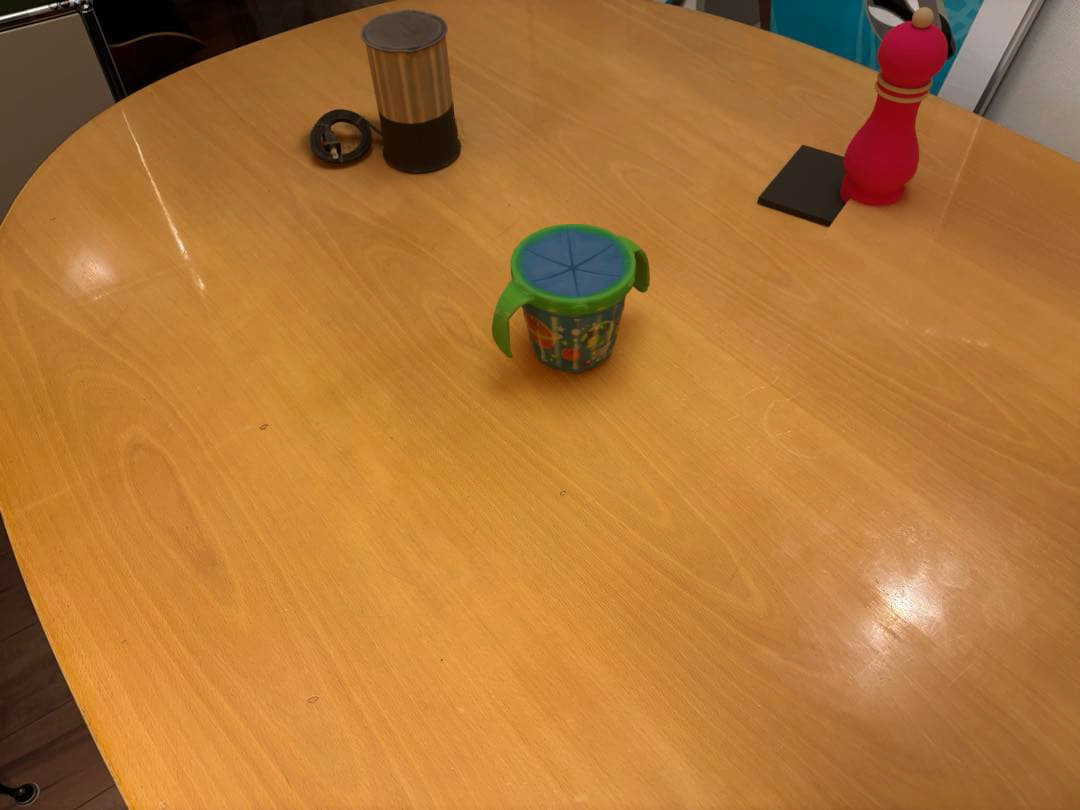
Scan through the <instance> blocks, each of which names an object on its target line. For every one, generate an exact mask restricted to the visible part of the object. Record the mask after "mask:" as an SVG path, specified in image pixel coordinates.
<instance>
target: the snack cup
mask: <svg viewBox="0 0 1080 810" xmlns="http://www.w3.org/2000/svg"><path fill="white" fill-rule="evenodd" d="M510 276H511V279H510V281H509V283H508V284H507V285H506V286H505V288H504V290H503V291H502V292H501V295H500V296H499V298H498V299H497V303H496V306H495V309H494V312H493V317H492V324H491V335H492V338H493V340H494V341H493V342H495V344H496V345H497V347H498V349H499V350H500V351H501V353H503V354H504V355H505V357H506V358H508V359H513V357H514V356H513V353H512V351H511V337H510V334H511V333H510V320H511V318H512V317H513V316H514V314H515V313H516V312H517V311H518V310H519V309H520V308H522V312H523V313H522V314H523V317H524V321H525V325H526V328H527V332H528V336H529V342H530V344H531V347H532V349H533V352H534V354H535V356H536V358H537V360H538V362H540V363H541V364H543V365H546V366H548V367H550V368H552V369H554V370H557V371H561V372H564V373H567V372H569V373H572V374H575V375H577V374H581V373H582V374H583V373H584V372H585V371H588V370H593V369H595V368H597V367H598V366H600V365H601V364H603V363H604V362H605V361H606V360H607V359H609V358H610V357H611V356H612V354H613V349H614V347H615V345H616V342H617V339H618V338H617V337H618V333H619V330H620V327H621V322H622V319H623V314H624V310H625V306H626V305H625V304H626V303H625V302H626V297H627V295H628V294H629V293H630V292H631V291H632V289H633V288H634V289H635V290H637V292H640V293H642V294H643V293H647V292H648V290H649V287H650V284H651V283H650V282H651V269H650V263H649V258H648V256H647V253H646V251H644V250H643V248H642V247H641V246H639V245H638V243H636V242H634V241H633V240H632V239H629V237H626V236H624V235H622V234H621V235H620V234H617V233H614V232H612V231H610V230H609V229H607V228H604V227H600V226H597V225H591V224H585V223H562V224H561V223H560V224H555V225H550V226H546V227H544V228H541V229H537V230H536V231H534V232H532V233H530V234H529V235H527V236H526V237H524V239H522V240H520V242H518V244H517V245H516V246H515V248H514V249H513V252H512V255H511V257H510Z"/></svg>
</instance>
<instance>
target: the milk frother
mask: <svg viewBox="0 0 1080 810" xmlns="http://www.w3.org/2000/svg"><path fill="white" fill-rule="evenodd" d="M448 29H449V28H448V24H447V22H446V20H445V19H443V17H442V16H439V15H438V14H436V13H433V12H430V11H427V10H422V9H421V10H419V9H409V8H408V9H403V10H394V11H390V12H386V13H383V14H380V15H377V16H375V17H373V18H372V19H370V20H369V21H367V22H366V23H365V24H364V25H363V26H362V27H361V30H360V38H361V40H362V42H364V43H365V48H366V49H365V50H366V54H367V59H368V60H367V61H368V64H369V65H368V66H369V71H370V75H371V81H372V87H373V90H374V95H375V102H376V106H377V111H378V118H379V122H380V129H379V128H378V127H376V125H374V124H372V123H371V121H369V120H368V119H366V118H365V117H364V116H362V115H361V114H359V113H358V112H355V111H353V110H349V109H343V108H337V109H332V110H329V111H328V112H325V113H324V114H323V115H322V116H320V118H318V120H316V122H315V123H314V125H313V126H312V129H311V131H310V134H309V145H310V149H311V151H312V153H313V155H314V156H315V157H316V158H317V159H318V160H320V161H321V162H323V163H325V164H330V165H334V166H335V165H338V166H339V165H348V164H353V163H355V162H358V161H359V160H362V158H364V156H365V155H366V154H367V153H368V152H369V150H370V148H371V145H372V140H373V137H372V136H373V135H372V130H373V131H374V132H376V133H377V134H378V135H379V136H380V137H382V144H383V145H382V146H383V148H382V156H383V158H384V161H385V162H386V163H387V164H388V165H389V166H391V167H392V168H394V169H397V170H399V171H401V172H407V173H428V172H432V171H437V170H439V169H443V168H445V167H447V166H449V165H450V164H451V163H453V162H454V161H455V160H456V159H457V158H458V157H459V155H460V153H461V152H462V151H461V150H462V144H461V140H460V139H459V133H458V125H457V122H456V115H455V106H454V98H453V87H452V85H453V84H452V77H451V69H450V60H449V52H448V51H449V50H448V42H447V34H448V32H449V31H448ZM338 123H347V124H349V125H352V126H353V127H355V128H356V129H358V131H359V132H360V135H361V140H360V141H359V143H358V145H357V146H356V147H355V148H354V149H352V150H351V151H349V152H345V153H342V143H341V141H340V140H338V139H337V138H336V136H335V131H333V130H332V126H335V124H338ZM371 129H372V130H371ZM322 141H323V143H324V144H323V145H322Z"/></svg>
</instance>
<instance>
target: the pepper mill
mask: <svg viewBox="0 0 1080 810" xmlns="http://www.w3.org/2000/svg"><path fill="white" fill-rule="evenodd" d="M934 18H935V16H934V11H933V10H932V9H931V8H929V7H928V6H922V7H920V8H918V9H916V10H915V11H914V13H913V14H912V17H911V20H909V21H905V22H901V23H899V24H897V25H895V26H894V27H892V28H891V29H890V30H888V32H887V33H886V34H885V36H884V37H883V39H882V40H881V42H880V44H879V47H878V50H877V62H878V65H879V68H880V69H881V70H880V71H878V72H877V75H876V81H875V83H874V89H875V91H876V93H877V96H876V101H875V104H874V107H873V109H872V111H871V113H870V115H869V117H868V118H867V119H866V121H865V122H864V124H863V125H862V126H861V127H860V128H859V129H858V131H857V132H856V133H855V134H854V136H853V137H852V139H851V140H850V142H849V144H848V145H847V148H846V150H845V153H844V156H843V157H844V168H845V171H846V172H847V174H846V175H845V176H844V178H843V182H842V186H841V190H840V196H841V198H842V200H843V202H844V203H845V204H847V203H848V202H849V200H850V199H851V200H853V201H855V202H856V203H859V204H863V205H865V206H872V207H886V206H887V207H888V206H890V205H894V204H896V203H898V202H900V200H901V199H902V198H903V196H904V194H905V192H906V184H908V183H909V182H910V181H911V180H912V179H913V177H915V175H916V173H917V171H918V166H919V162H920V145H919V140H918V137H917V130H916V122H917V118H918V117H917V116H918V112H919V109H920V106H921V105H922V101H923V100H925V99H927V97H929V95H930V93H931V90H930V89H931V87H932V86H933V83H934V81H933V78H934V77H935V76H936V75H938V73H940V72H941V71H942V69H943V67H944V66H945V64H946V61H947V58H948V54H949V44H948V39H947V37H946V35H945V34H944V32H943V31H942V29H940V27H938V26H936V25H935V24H933V21H934Z"/></svg>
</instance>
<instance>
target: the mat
mask: <svg viewBox="0 0 1080 810" xmlns="http://www.w3.org/2000/svg"><path fill="white" fill-rule="evenodd" d="M846 174H847V172H846V171H845V168H844V156H843V155H839V154H837V153H833V152H829V151H826V150H822V149H819V148H816V147H812V146H809V145H805V144H802V145H801V146H800V147H798V149H797V150H796V152H795V153H794V154H793V155H792V157H791V158H790V159H789V160H788V161H787V163H786V164H784V165H783V166H782V168H781V169H780V171H779V172H778V173H777V175H776V176H775V177H774V178H773V179H772V180H771V182H770V183H769V184H768V185H767V186H766V188H765V189H764V190H763V191H762V193H760V194H759V196H758V197H757V204H758V205H762V206H765V207H768V208H771V209H773V210H777V211H780V212H783V213H786V214H789V215H792V216H794V217H797V218H801V219H804V220H807V221H810V222H813V223H816V224H818V225H822V226H825V227H828V228H830V227H831V225H832V224H833V223H834V222H835V220H836V219H837V217H838V216H839V214H840V213H841V211H842V210H843V209H844V208H845V206H846V204H847V203H846V204H845V203H844V202H843V200H842V198H841V196H840V190H841V186H842V182H843V178H844V176H845V175H846Z"/></svg>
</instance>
